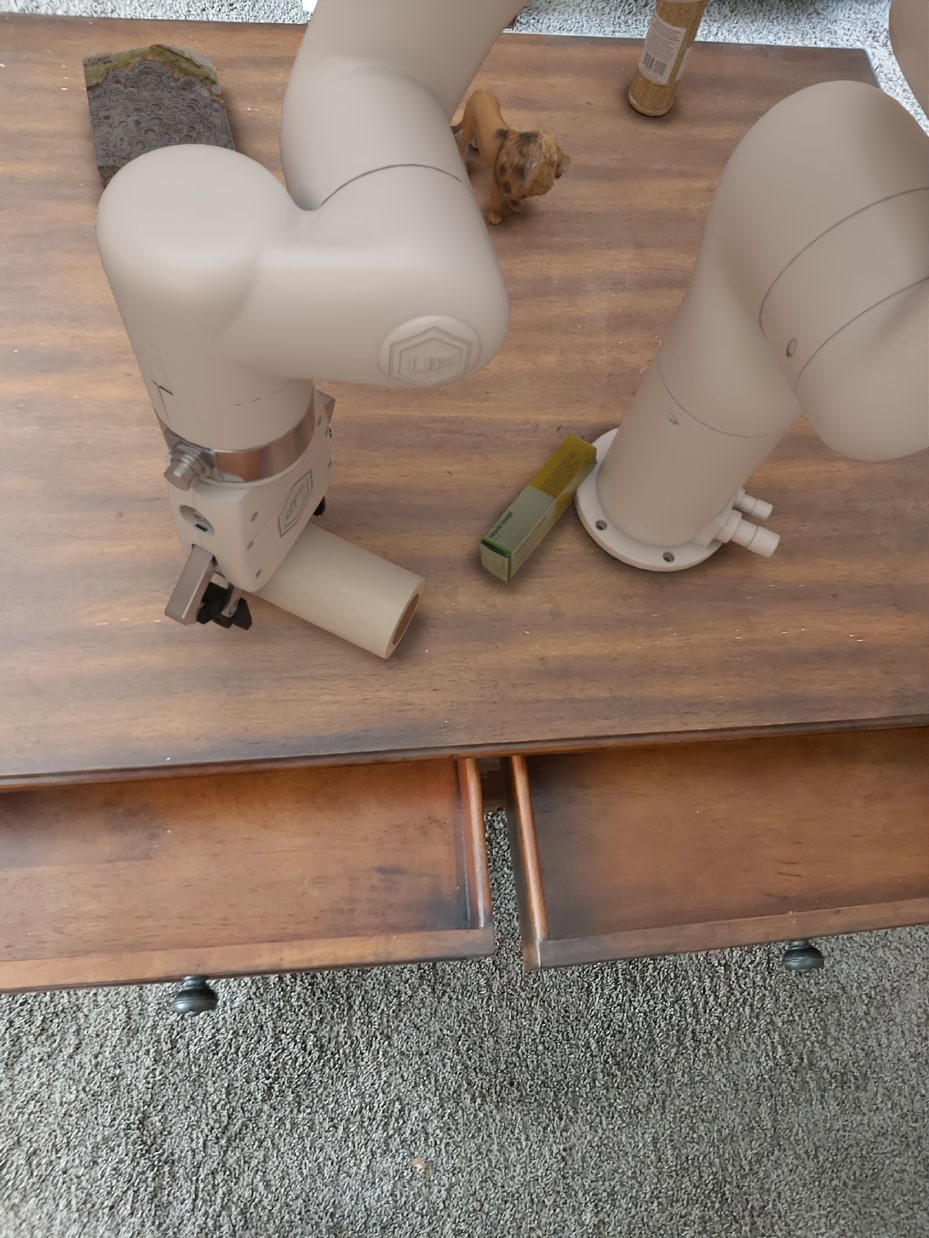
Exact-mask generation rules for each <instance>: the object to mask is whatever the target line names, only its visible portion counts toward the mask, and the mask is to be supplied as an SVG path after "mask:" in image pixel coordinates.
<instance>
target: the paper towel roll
mask: <svg viewBox="0 0 929 1238" xmlns="http://www.w3.org/2000/svg"><path fill="white" fill-rule="evenodd" d="M224 580H225V581H226V582H228V583H229V581H228V580H227V579H226V578H224ZM425 587H426V578H424V577H422V576H420V575H418V574H417V573H414V572H412V571H410V570H409V569H406V568H404V567H402V566H400V565H398V564H396V563H393V562H391V561H389V560H387V559H386V558H384V557H382V556H379V555H377V554H376V553H373V552H371V551H369V550H367V549H365V548H363V547H360V546H359V545H357V544H354V543H352V542H350V541H348V540H347V539H344V538H342V537H340V536H338V535H336V534H334V533H332V532H329V531H328V530H325V529H324V528H321V527H320V526H317V525H315V524H314V523H311V522H309V521H308V522H307V524H306V525H305V527H304V528H303V530H302V532H301V533H300V535H299V536H298V538H297V539H296V541H295V542H294V544H293V546H292V547H291V549H290V550H289V552H288V553H287V555H286V556H285V558H284V559H283V561H282V562H281V564H280V565H279V567H278V568H277V570H276V571H275V573H274V574H273V576H272V577H271V578H270V580H269V581H268V582H267V583H266V584H265V585H264V586H263V587H262V588H261V589H259V590H257V591H255V592H249V594H251V595H254V596H255V597H258V598H260V599H262V600H264V601H266V602H268V603H270V604H273V605H274V606H275V607H278V608H280V609H282V610H284V611H286V612H288V613H290V614H292V615H294V616H296V617H298V618H300V619H302V620H305V621H307V622H309V623H310V624H312V625H315V626H317V627H319V628H321V629H323V630H325V631H327V632H329V633H331V634H333V635H335V636H337V637H339V638H341V639H342V640H346V641H347V642H349V643H351V644H353V645H355V646H358V647H359V648H362V649H364V650H365V651H368V652H369V653H372V654H374V655H376V656H378V657H379V658H381V659H384V660H387V659H389V658H390V657H391V655H392V654H393V653H394V651H395V650H396V649H397V647H398V645H399V643H400V642H401V640H402V638H403V636H404V635H405V633H406V631H407V629H408V627H409V625H410V623H411V621H412V619H413V617H414V615H415V613H416V611H417V608H418V606H419V604H420V601H421V597H422V596H423V593H424V590H425Z"/></svg>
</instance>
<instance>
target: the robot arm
mask: <svg viewBox="0 0 929 1238" xmlns="http://www.w3.org/2000/svg"><path fill="white" fill-rule="evenodd" d="M531 1H532V0H317V1H316V3H315V6H314V9H313V11H312V14H311V16H310V19H309V21H308V24H307V27H306V29H305V32H304V35H303V36H302V40H301V43H300V45H299V48H298V51H297V53H296V55H295V59H294V62H293V64H292V66H291V67H292V68H291V71H290V74H289V77H288V80H287V83H286V87H285V92H284V96H283V101H282V105H281V111H280V121H279V133H278V134H279V136H278V147H279V156H280V163H281V168H282V174H283V179H284V183H285V186H284V185H283V184H282V182H281V181H280V180H279V179H278V178H277V176H275V175H274V173H272V172H271V171H270V170H269V169H267V168H266V167H265V166H264V165H263V164H262V163H260V162H258V161H256V160H255V159H253V158H251V157H249V156H248V155H246V154H242V153H240V152H238V151H236V150H235V151H233V150H230V149H226V148H222V147H218V146H211V145H204V144H183V145H174V146H168V147H164V148H160V149H156V150H153V151H150V152H148V153H145V154H143V155H141V156H139V157H138V158H136V159H134V160H133V161H131V162H129V163H128V164H126V165H125V166H124V167H122V168H121V169H120V170H119V171H118V172H117V173H116V174H115V175H114V176H113V178H112V179H111V181H110V182H109V184H108V185H107V187H106V189H104V190H103V192H102V194H101V196H100V199H99V202H98V205H97V209H96V213H95V214H96V215H95V223H94V229H95V231H94V233H95V242H96V247H97V252H98V255H99V258H100V261H101V265H102V268H103V272H104V274H105V276H106V279H107V283H108V285H109V288H110V290H111V294H112V296H113V299H114V301H115V304H116V307H117V311H118V313H119V315H120V318H121V321H122V324H123V327H124V329H125V333H126V335H127V338H128V341H129V343H130V346H131V349H132V352H133V354H134V356H135V360H136V363H137V365H138V368H139V371H140V374H141V377H142V379H143V382H144V385H145V388H146V391H147V394H148V397H149V400H150V402H151V406H152V409H153V412H154V413H155V417H156V419H157V422H158V426H159V427H160V430H161V433H162V436H163V439H164V442H165V444H166V447H167V449H168V453H167V456H166V457H165V471H164V473H163V476H164V478H165V479H166V488H167V496H168V502H169V503H168V504H169V508H170V512H171V517H172V522H173V526H174V529H175V533H176V536H177V538H178V542H179V545H180V547H181V549H182V551H183V553H184V555H185V557H186V558H187V560H186V563H185V566H184V568H183V570H182V571H181V574H180V576H179V578H178V580H177V583H176V585H175V587H174V589H173V591H172V594H171V596H170V598H169V600H168V603H167V605H166V607H165V609H164V612H163V613H164V616H165V617H167V618H169V619H171V620H173V621H175V622H177V623H179V624H181V625H183V626H191V625H196V624H197V623H199V624H201V625H203V626H204V625H207V624H208V623H210V622H213V623H215V624H216V625H218V626H220V627H222V628H224V629H226V630H227V629H228V630H230V629H231V627H232V626H233V625H234V626H236V627H237V628H240V629H242V630H245V631H249V630H250V628H251V626H253V618H252V614H251V611H250V607H249V605H248V600H247V599H246V598H244V597H243V596H242V595H243V591H244V592H248V593H250V592H255V591H257V590H259V589H261V588H262V587H263V586H264V585H265V584H266V583H267V582H268V581H269V580H270V578H271V577H272V576H273V574H274V573H275V571H276V570H277V568H278V567H279V565H280V564H281V562H282V561H283V559H284V558H285V556H286V555H287V553H288V552H289V550H290V549H291V547H292V546H293V544H294V542H295V541H296V539H297V538H298V536H299V535H300V533H301V532H302V530H303V528H304V527H305V525H306V524H307V522H309V521H310V519H311V517H312V516H315V517H320V516H322V515H323V514H324V512H325V511H326V493H327V491H328V489H329V488H330V485H331V483H332V480H333V477H334V456H333V445H332V437H333V434H332V428H330V425H329V424H331V422H332V417H333V413H334V409H335V405H336V398H335V397H333V396H331V395H329V394H327V393H325V392H323V391H320V390H318V388H317V387H316V385H315V383H314V381H321V382H330V383H338V384H339V383H340V384H349V385H357V386H364V387H373V388H374V387H375V388H384V389H386V388H387V389H403V390H405V389H411V390H413V389H415V390H416V389H417V390H419V389H434V388H440V387H444V386H449V385H452V384H456V383H458V382H461V381H464V380H466V379H468V378H471V377H472V376H474V375H476V374H478V373H479V372H481V371H482V370H483V369H485V368H486V367H487V366H489V365H490V363H491V362H492V361H493V360H494V359H495V358H496V357H497V356H498V354H499V352H500V351H501V349H502V348H503V346H504V344H505V342H506V340H507V337H508V333H509V329H510V328H509V327H510V324H511V301H510V295H509V290H508V287H507V282H506V279H505V276H504V272H503V270H502V267H501V263H500V260H499V257H498V255H497V252H496V250H495V247H494V244H493V241H492V239H491V236H490V233H489V229H488V228H487V225H486V222H485V219H484V217H483V213H482V211H481V208H480V206H479V202H478V200H477V197H476V194H475V191H474V189H473V186H472V183H471V180H470V178H469V175H468V174H467V172H466V169H465V166H464V164H463V161H462V158H461V155H460V153H459V147H458V144H457V142H456V138H455V136H454V135H455V134H453V132H452V129H451V126H452V125H451V124H452V121H453V118H454V117H455V114H456V112H457V110H458V108H459V106H460V105H461V102H463V99H464V97H465V95H466V94H467V92H468V90H469V88H470V87H471V85H472V83H473V81H474V79H475V78H476V76H477V74H478V72H479V70H480V69H481V67H482V65H483V63H484V62H485V60H486V59H487V57H488V55H489V53H490V52H491V50H492V48H493V47H494V46H495V44H496V43H497V41H498V40H499V38H500V37H501V35H502V34H503V33H504V31H505V29H506V28H507V27H508V26H509V25H510V23H511V22H512V21H513V20H514V19H515V17H516V16H517V15H518V14H519V13H520V12H521V11H522V10H523V9H524V8H525V7H526V6H527V5H528V4H529V3H531ZM663 1H668V2H680V3H694V2H698V1H701V0H663ZM888 37H889V41H890V46H891V50H892V53H893V56H894V58H895V61H896V63H897V65H898V68H899V69H900V72H901V74H902V77H903V78H904V80H905V82H906V84H907V86H908V88H909V90H910V92H911V93H912V95H913V97H914V99H915V100H916V102H917V104H918V105H919V107H920V109H921V110H922V113H923V114H924V115H925V118H927V121H929V0H891V2H890V6H889V11H888ZM725 163H726V164H725V165H724V167H723V170H722V172H721V174H720V176H719V178H718V179H717V182H716V185H715V188H714V190H713V193H712V196H711V200H710V203H709V206H708V209H707V213H706V217H705V220H704V224H703V228H702V232H701V236H700V237H701V238H700V241H699V244H698V245H699V246H698V249H697V254H696V258H695V262H694V265H693V269H692V272H691V275H690V277H689V281H688V282H687V283H688V284H687V286H686V289H685V290H684V291H685V292H684V293H683V296H682V297H681V298H682V299H681V301H680V302H679V305H678V307H677V309H676V312H675V313H674V316H673V318H672V320H671V323H670V324H669V326H668V329H667V331H666V332H665V334H664V336H663V337H662V340H661V341H660V344H659V346H658V348H657V350H656V351H655V354H654V356H653V358H652V360H651V362H650V364H649V366H648V368H647V370H646V372H645V374H644V376H643V378H642V380H641V382H640V384H639V386H638V389H637V391H636V392H635V394H634V397H633V398H632V400H631V402H630V405H629V406H628V408H627V411H626V412H625V415H624V417H623V419H622V420H621V423H620V425H619V427H616V428H612V429H610V430H608V431H607V432H605V433H604V434H601V435H600V436H599V437H597V438H596V439H595V440H594V441H593V442H592V443H590V444H591V445H593V446H595V447H596V448H597V454H596V462H595V468H594V469H593V470H592V471H591V473H590V474H589V475H588V476H587V477H586V479H585V480H584V481H583V482H582V483H581V485H580V486H579V487H578V489H577V490H576V493H575V496H574V500H573V502H574V506H575V510H576V512H577V515H578V517H579V520H580V522H581V524H582V526H583V527H584V529H585V530H586V532H587V533H588V534H589V536H590V537H591V538H592V539H593V540H594V542H595V543H596V544H597V545H598V546H599V547H601V549H603V550H604V551H605V552H606V553H608V554H609V555H610V556H612V557H613V558H615V559H617V560H618V561H621V562H622V563H624V564H627V565H629V566H632V567H634V568H638V569H641V570H646V571H651V572H675V571H682V570H687V569H689V568H692V567H694V566H697V565H700V564H701V563H702V562H704V561H706V560H707V559H708V558H710V557H711V556H712V555H713V554H714V553H716V551H717V550H718V549H719V548H720V547H721V545H722V544H723V543H724V544H727V543H729V542H730V541H731V542H734V543H736V544H738V545H739V546H742V547H744V549H746V550H748V551H750V552H752V553H754V554H756V555H759V556H761V557H763V558H765V559H769V558H770V557H771V556H772V555H773V553H774V552H775V550H776V549H777V547H778V545H779V543H780V540H781V535H780V534H779V533H776V532H775V531H772V530H770V529H767V528H765V527H764V526H761V525H759V524H757V525H756V524H754V523H752V522H750V521H747V520H745V519H744V518H742V517H743V513H746V514H747V515H748V516H750V517H752V518H754V519H756V520H758V521H760V522H763V523H764V522H766V521H767V519H768V518H769V516H770V515H771V513H772V510H773V508H774V506H773V504H771V503H769V502H766V501H765V500H762V499H760V498H758V497H757V498H755V497H754V496H751V495H749V494H747V493H746V488H744V487H743V486H745V484H746V483H747V482H748V481H749V479H750V478H751V477H752V476H753V474H755V472H756V471H757V470H758V468H759V467H760V466H761V465H762V463H763V462H764V461H766V458H768V456H769V455H770V454H771V452H772V451H773V450H774V449H775V448H776V447H777V445H778V444H779V443H780V442H781V440H783V438H784V437H785V436H786V435H787V433H788V432H789V430H790V429H791V428H792V427H793V426H794V425H795V423H796V422H797V421H798V420H799V419H800V418H801V416H802V415H804V417H805V419H806V420H807V421H808V423H809V425H810V426H811V428H812V429H813V432H815V434H816V435H817V437H818V438H819V439H820V440H821V441H822V442H823V443H824V444H825V445H826V446H827V447H828V448H830V449H831V450H833V451H834V453H837V454H838V455H841V456H843V457H845V458H847V459H850V460H852V461H853V460H854V461H858V462H865V463H866V462H867V463H875V462H887V461H892V460H896V459H901V458H904V457H907V456H910V455H913V454H915V453H918V452H921V451H923V450H925V449H927V448H929V135H928V133H926V131H925V130H924V129H923V127H922V126H921V125H920V123H919V122H918V121H917V119H916V118H915V116H913V114H912V113H911V112H909V111H908V110H907V109H906V107H904V105H902V103H900V102H899V101H898V100H897V99H896V98H894V97H893V96H891V95H890V94H888V93H887V92H886V91H884V90H883V89H881V88H879V87H876V86H873V85H871V84H868V83H864V82H862V81H855V80H849V79H848V80H843V79H842V80H839V79H837V80H831V81H825V82H819V83H814V84H812V85H810V86H806V87H804V88H801V89H799V90H798V91H796V92H794V93H793V94H790V95H788V96H786V97H785V98H784V99H782V100H780V101H779V102H777V103H776V104H774V106H772V107H771V108H770V109H769V110H768V111H766V112H765V113H764V114H763V115H762V116H761V117H760V118H759V119H758V120H756V121H755V122H754V124H753V125H752V126H751V127H750V128H749V129H748V130H747V131H746V133H745V134H744V136H743V137H742V138H741V139H740V141H739V142H738V144H736V146H735V149H734V150H733V152H732V153H731V155H730V156H729V158H728V160H727V162H725ZM736 509H737V510H736ZM738 510H739V511H738ZM742 512H743V513H742ZM214 574H216V575H218V576H220V577H222V578H224V579H225V578H226V579H227V580H228V581H229V582H228V584H227V588H224V587H223V586H220V585H219V584H216V583H214V582H213V581H211V580H212V577H213V576H214Z"/></svg>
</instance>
